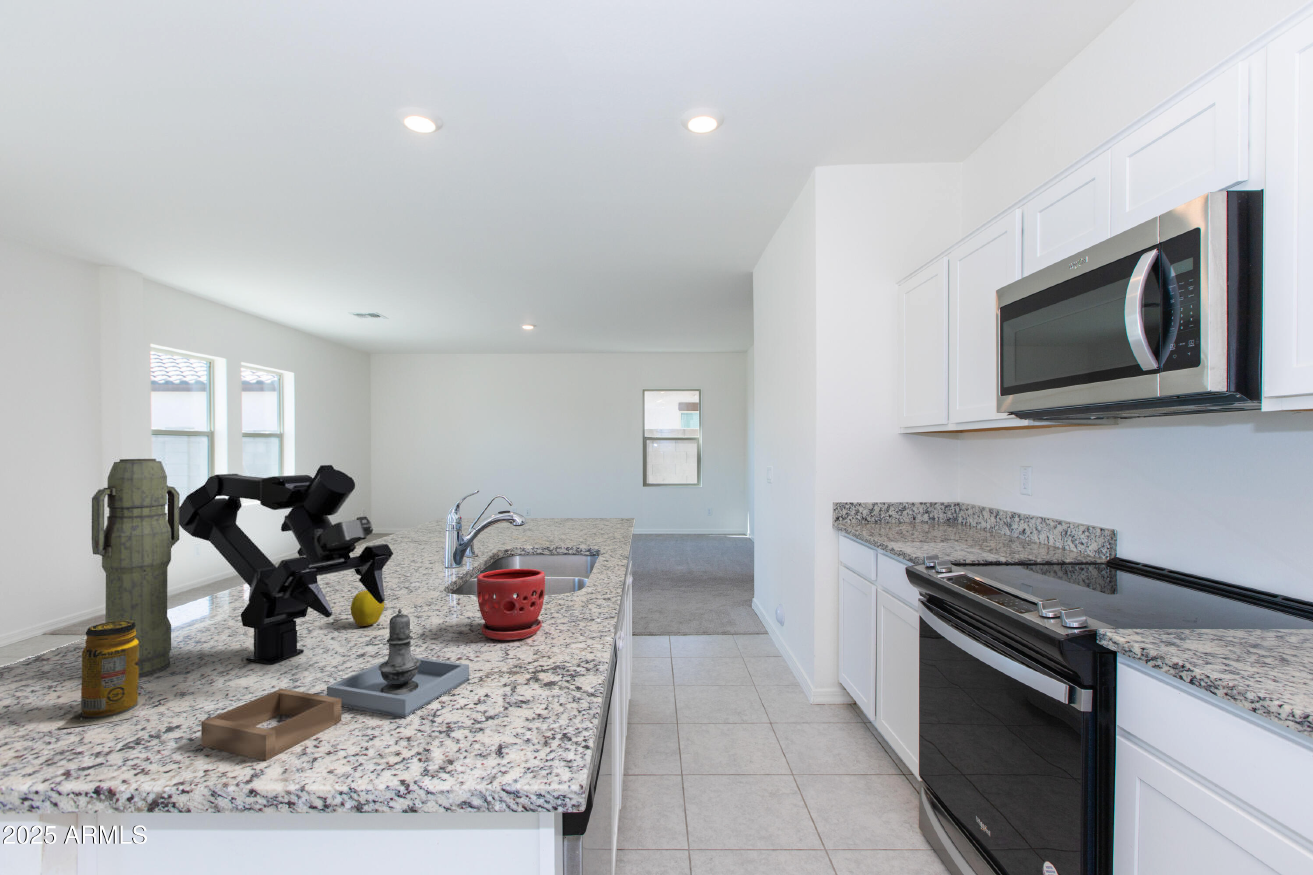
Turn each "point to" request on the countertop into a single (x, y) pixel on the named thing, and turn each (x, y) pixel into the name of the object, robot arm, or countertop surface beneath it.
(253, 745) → the socket block
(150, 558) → the thermos
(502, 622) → the plant pot
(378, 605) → the apple
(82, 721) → the condiment
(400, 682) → the salt shaker
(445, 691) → the tray
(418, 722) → the countertop surface
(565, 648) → the countertop surface
